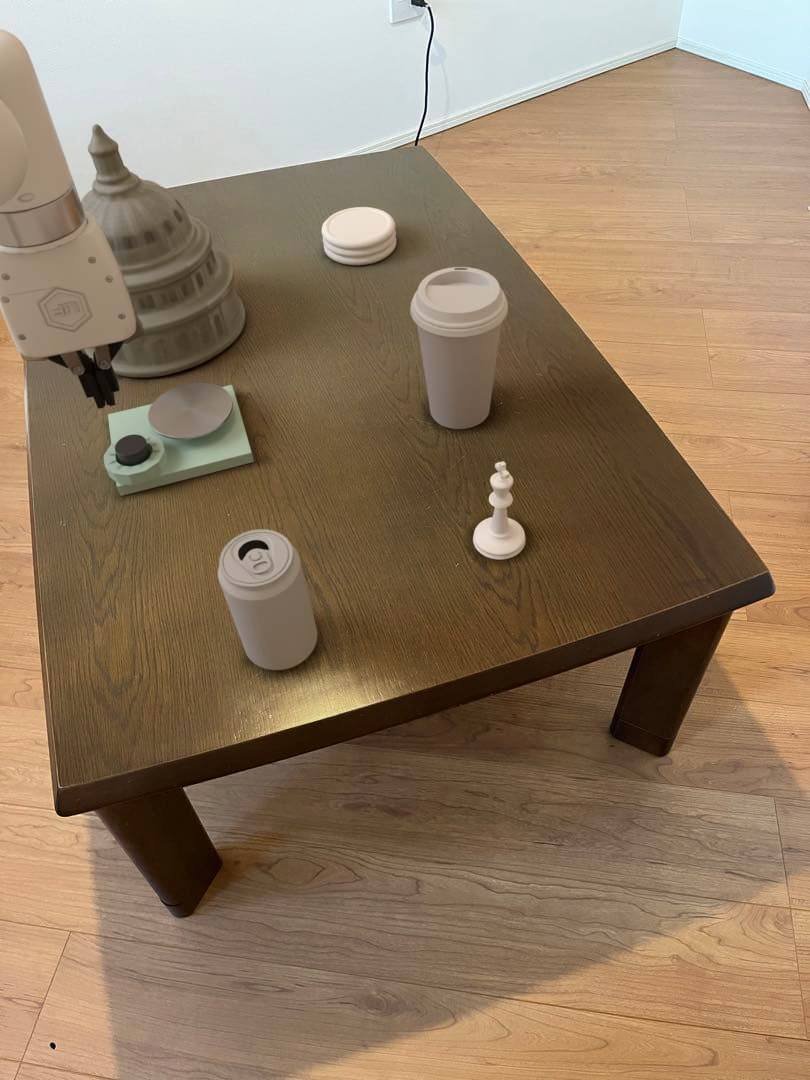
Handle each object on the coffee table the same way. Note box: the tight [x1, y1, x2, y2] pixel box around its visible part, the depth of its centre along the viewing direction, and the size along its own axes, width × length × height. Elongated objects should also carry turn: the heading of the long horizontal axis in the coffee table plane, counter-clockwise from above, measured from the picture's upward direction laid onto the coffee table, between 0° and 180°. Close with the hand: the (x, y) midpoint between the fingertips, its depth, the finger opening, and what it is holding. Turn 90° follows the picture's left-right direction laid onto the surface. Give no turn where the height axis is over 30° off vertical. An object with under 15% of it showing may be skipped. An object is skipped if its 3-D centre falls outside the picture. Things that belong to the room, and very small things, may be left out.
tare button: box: [115, 434, 150, 466], centre depth 85 cm, size 3×3×2 cm
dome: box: [80, 123, 246, 379], centre depth 95 cm, size 20×25×20 cm
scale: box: [103, 384, 255, 497], centre depth 89 cm, size 14×12×3 cm
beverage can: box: [217, 528, 318, 671], centre depth 68 cm, size 6×6×12 cm
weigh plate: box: [148, 381, 233, 439], centre depth 89 cm, size 9×9×1 cm
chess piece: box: [472, 460, 526, 561], centre depth 75 cm, size 5×5×10 cm
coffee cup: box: [409, 266, 509, 430], centre depth 85 cm, size 10×10×15 cm
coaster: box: [321, 206, 397, 266], centre depth 113 cm, size 10×10×4 cm
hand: (105, 398), depth 79 cm, fingers closed
